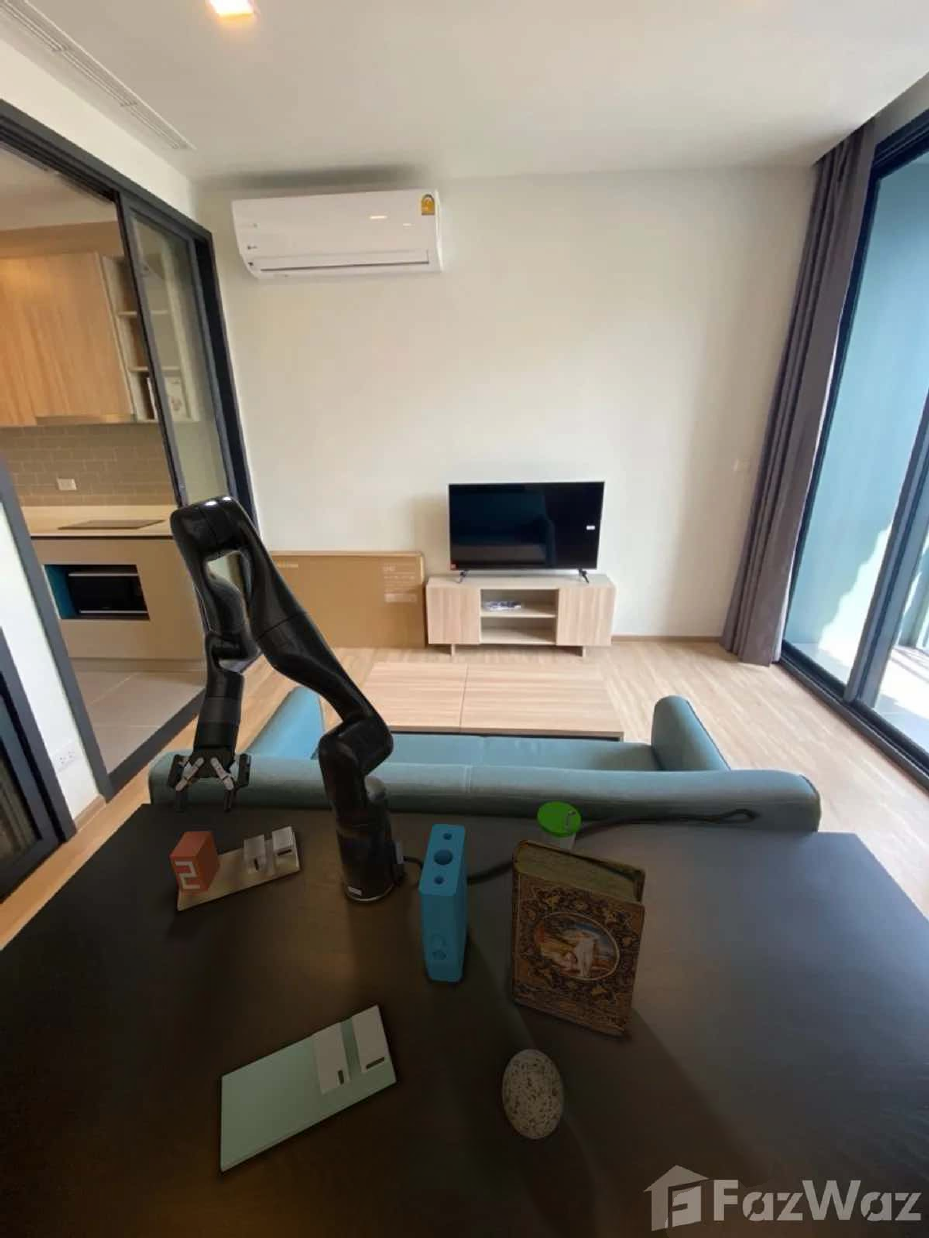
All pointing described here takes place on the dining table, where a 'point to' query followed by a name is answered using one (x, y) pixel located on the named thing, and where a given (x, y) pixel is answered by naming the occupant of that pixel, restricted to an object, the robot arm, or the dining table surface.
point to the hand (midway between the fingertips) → (203, 812)
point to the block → (444, 902)
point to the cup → (558, 824)
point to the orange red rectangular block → (195, 861)
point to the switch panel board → (302, 1085)
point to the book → (575, 934)
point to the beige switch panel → (249, 867)
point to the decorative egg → (532, 1094)
